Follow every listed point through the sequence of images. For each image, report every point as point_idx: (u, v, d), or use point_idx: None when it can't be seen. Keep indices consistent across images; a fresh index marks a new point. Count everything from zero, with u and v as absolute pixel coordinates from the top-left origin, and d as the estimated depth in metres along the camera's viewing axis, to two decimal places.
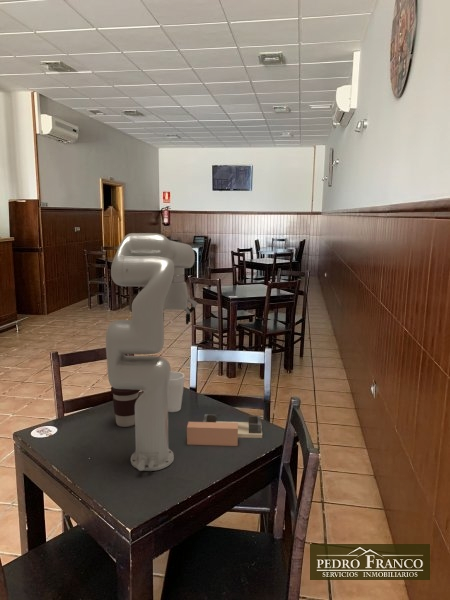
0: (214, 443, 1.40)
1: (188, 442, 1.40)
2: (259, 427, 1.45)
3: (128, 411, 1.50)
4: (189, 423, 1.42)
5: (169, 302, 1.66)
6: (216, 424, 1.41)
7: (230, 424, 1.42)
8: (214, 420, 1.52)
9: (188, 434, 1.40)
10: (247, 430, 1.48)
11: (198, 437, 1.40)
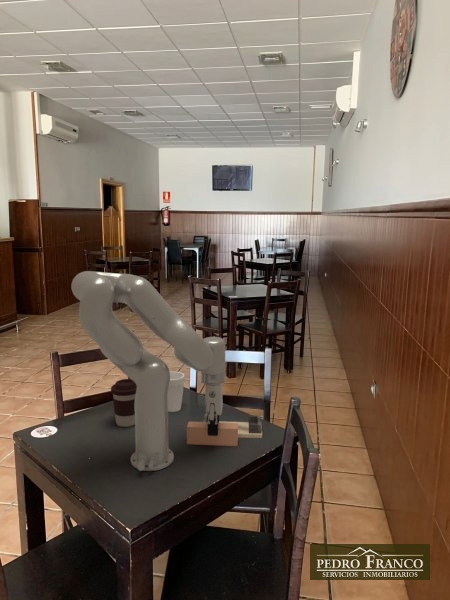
0: (214, 443, 1.40)
1: (188, 442, 1.41)
2: (259, 427, 1.45)
3: (128, 411, 1.50)
4: (189, 423, 1.42)
5: None
6: None
7: (230, 424, 1.42)
8: None
9: (188, 434, 1.40)
10: (247, 430, 1.48)
11: (198, 437, 1.40)
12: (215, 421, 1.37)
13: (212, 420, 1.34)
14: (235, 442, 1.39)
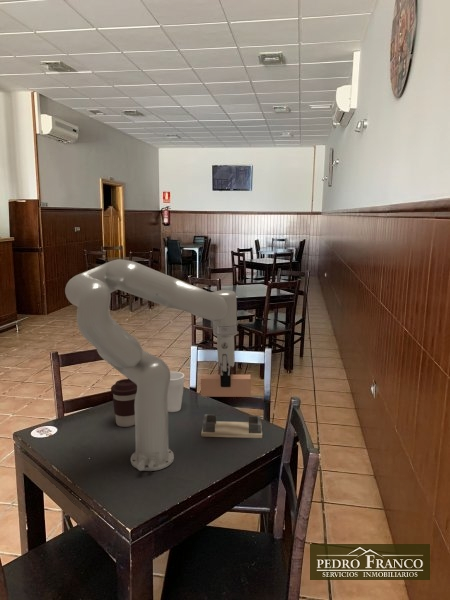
0: (227, 394, 1.42)
1: (202, 393, 1.43)
2: (259, 427, 1.45)
3: (128, 411, 1.50)
4: (202, 375, 1.44)
5: None
6: None
7: (243, 375, 1.44)
8: (214, 420, 1.52)
9: (202, 385, 1.42)
10: (247, 430, 1.48)
11: (212, 388, 1.42)
12: (228, 372, 1.39)
13: (225, 371, 1.36)
14: (248, 392, 1.42)
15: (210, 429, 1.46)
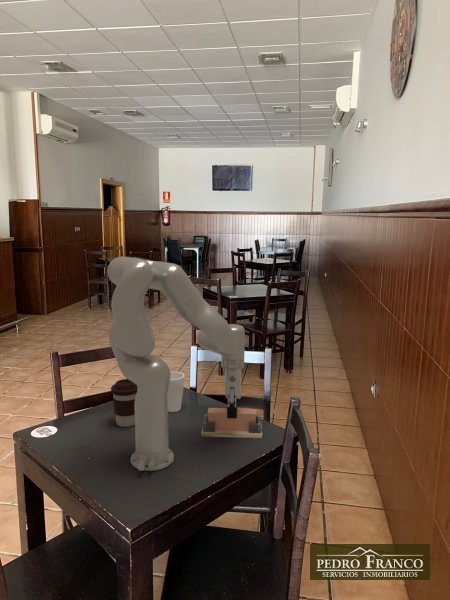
0: (233, 428, 1.47)
1: None
2: (259, 427, 1.45)
3: (128, 411, 1.50)
4: (209, 409, 1.50)
5: None
6: None
7: (248, 410, 1.49)
8: None
9: (209, 419, 1.47)
10: None
11: (218, 422, 1.47)
12: (234, 404, 1.43)
13: (232, 403, 1.41)
14: None
15: (210, 429, 1.46)
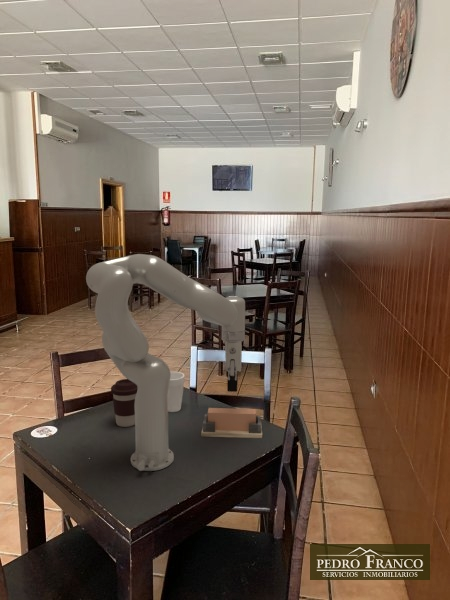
0: (233, 428, 1.47)
1: None
2: (259, 427, 1.45)
3: (128, 411, 1.50)
4: (209, 409, 1.50)
5: None
6: (235, 410, 1.49)
7: (248, 410, 1.49)
8: None
9: (209, 419, 1.47)
10: None
11: (218, 422, 1.47)
12: (235, 377, 1.43)
13: (232, 376, 1.40)
14: None
15: (210, 429, 1.46)
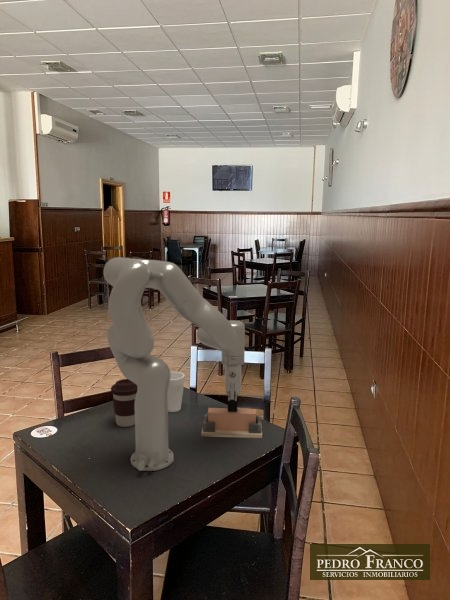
0: (233, 428, 1.47)
1: None
2: (259, 427, 1.45)
3: (128, 411, 1.50)
4: (209, 409, 1.50)
5: None
6: None
7: (248, 410, 1.49)
8: None
9: (209, 419, 1.47)
10: None
11: (218, 422, 1.47)
12: (235, 399, 1.46)
13: None
14: None
15: (210, 429, 1.46)
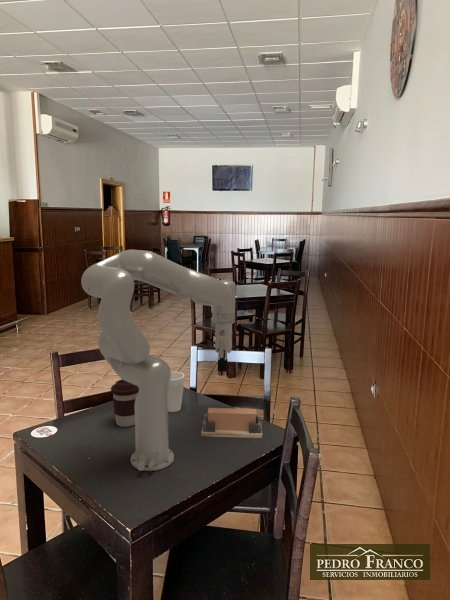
0: (233, 428, 1.47)
1: None
2: (259, 427, 1.45)
3: (128, 411, 1.50)
4: (209, 409, 1.50)
5: None
6: (235, 410, 1.49)
7: (248, 410, 1.49)
8: None
9: (209, 419, 1.47)
10: None
11: (218, 422, 1.47)
12: (225, 358, 1.47)
13: (222, 357, 1.45)
14: None
15: (210, 429, 1.46)
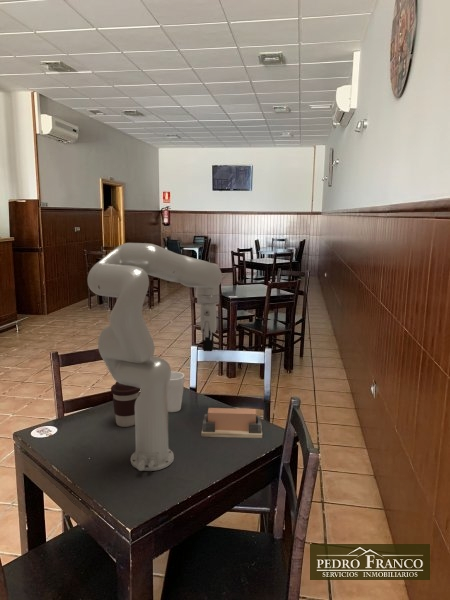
0: (233, 428, 1.47)
1: None
2: (259, 427, 1.45)
3: (128, 411, 1.50)
4: (209, 409, 1.50)
5: (215, 324, 1.52)
6: (235, 410, 1.49)
7: (248, 410, 1.49)
8: None
9: (209, 419, 1.47)
10: None
11: (218, 422, 1.47)
12: (210, 338, 1.53)
13: (207, 337, 1.50)
14: None
15: (210, 429, 1.46)
